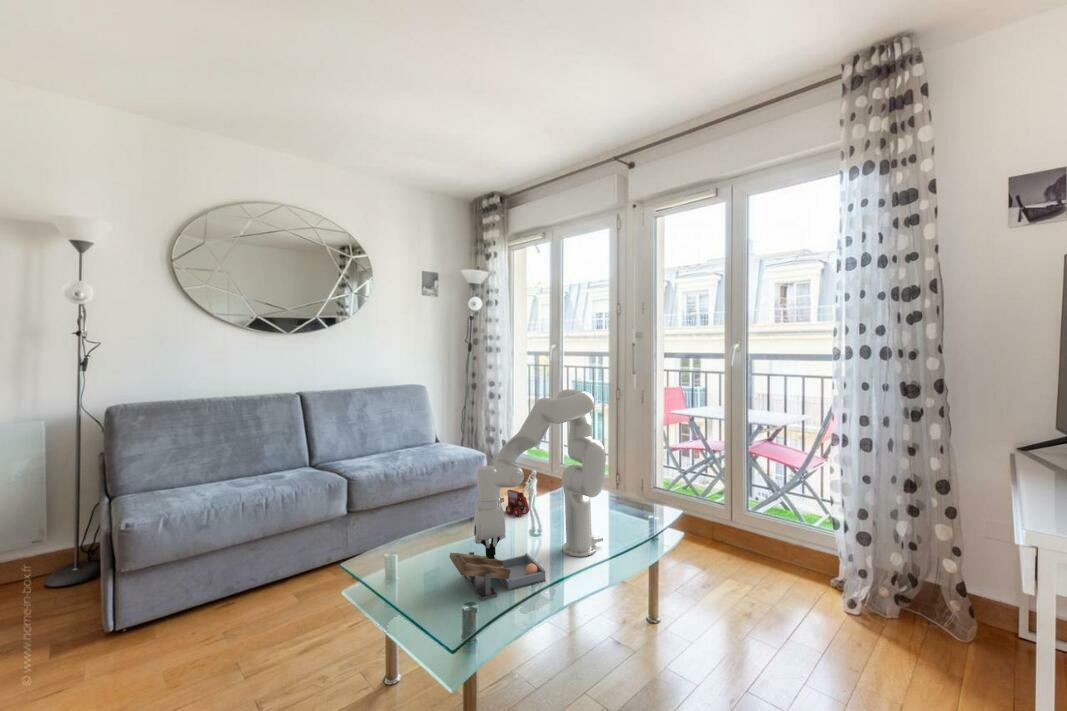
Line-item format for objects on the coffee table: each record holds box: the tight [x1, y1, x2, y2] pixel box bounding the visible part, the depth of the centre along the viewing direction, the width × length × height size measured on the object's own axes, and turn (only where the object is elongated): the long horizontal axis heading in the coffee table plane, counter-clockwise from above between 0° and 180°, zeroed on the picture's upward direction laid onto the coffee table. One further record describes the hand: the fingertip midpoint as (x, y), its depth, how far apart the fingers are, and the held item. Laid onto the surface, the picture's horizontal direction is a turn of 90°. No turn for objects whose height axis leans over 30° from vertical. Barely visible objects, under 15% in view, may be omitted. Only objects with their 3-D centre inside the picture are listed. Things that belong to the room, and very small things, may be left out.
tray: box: [498, 552, 547, 591], centre depth 157 cm, size 13×15×4 cm
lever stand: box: [463, 551, 498, 602], centre depth 152 cm, size 5×19×8 cm, turn 24°
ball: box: [525, 563, 538, 575], centre depth 156 cm, size 4×4×4 cm
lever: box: [449, 552, 511, 579], centre depth 152 cm, size 16×15×4 cm
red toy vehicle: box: [505, 489, 530, 518], centre depth 218 cm, size 7×12×10 cm, turn 47°
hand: (490, 557), depth 159 cm, fingers closed
